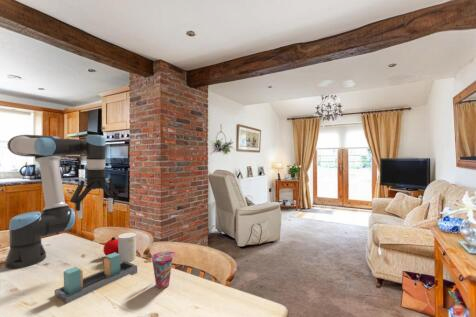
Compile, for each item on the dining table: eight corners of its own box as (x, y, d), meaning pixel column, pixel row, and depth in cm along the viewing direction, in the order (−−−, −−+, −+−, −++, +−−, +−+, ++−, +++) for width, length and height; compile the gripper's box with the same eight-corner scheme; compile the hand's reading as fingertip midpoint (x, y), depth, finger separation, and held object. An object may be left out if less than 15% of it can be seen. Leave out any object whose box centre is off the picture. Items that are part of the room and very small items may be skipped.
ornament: (122, 258, 121) (122, 239, 121) (102, 261, 118) (102, 241, 117) (123, 251, 129) (123, 233, 129) (104, 254, 126) (104, 235, 126)
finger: (104, 277, 101) (103, 256, 101) (115, 272, 105) (114, 252, 105) (109, 280, 99) (108, 258, 98) (120, 275, 103) (120, 254, 102)
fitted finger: (83, 291, 90) (83, 268, 90) (69, 298, 86) (68, 273, 86) (78, 288, 93) (77, 265, 92) (64, 294, 88) (63, 270, 88)
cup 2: (165, 292, 91) (165, 261, 91) (147, 288, 94) (146, 258, 94) (178, 280, 100) (178, 252, 100) (161, 277, 103) (161, 249, 103)
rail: (54, 298, 88) (54, 290, 88) (125, 267, 112) (125, 260, 112) (66, 306, 83) (66, 298, 83) (137, 272, 107) (137, 265, 107)
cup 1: (129, 263, 116) (129, 238, 116) (114, 261, 118) (114, 237, 118) (139, 256, 124) (139, 233, 124) (125, 254, 126) (125, 232, 125)
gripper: (117, 166, 122) (117, 207, 123) (60, 169, 101) (61, 219, 102) (126, 167, 118) (125, 210, 119) (69, 170, 97) (69, 222, 98)
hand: (96, 214), depth 111 cm, fingers open, 13 cm apart
